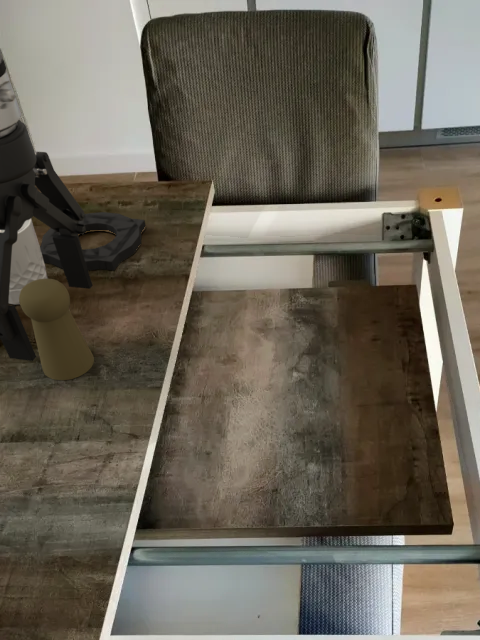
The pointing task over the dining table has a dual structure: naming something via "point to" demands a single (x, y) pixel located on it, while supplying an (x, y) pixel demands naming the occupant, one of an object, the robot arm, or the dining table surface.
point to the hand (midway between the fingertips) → (53, 319)
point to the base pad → (109, 253)
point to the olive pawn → (55, 330)
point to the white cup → (25, 261)
